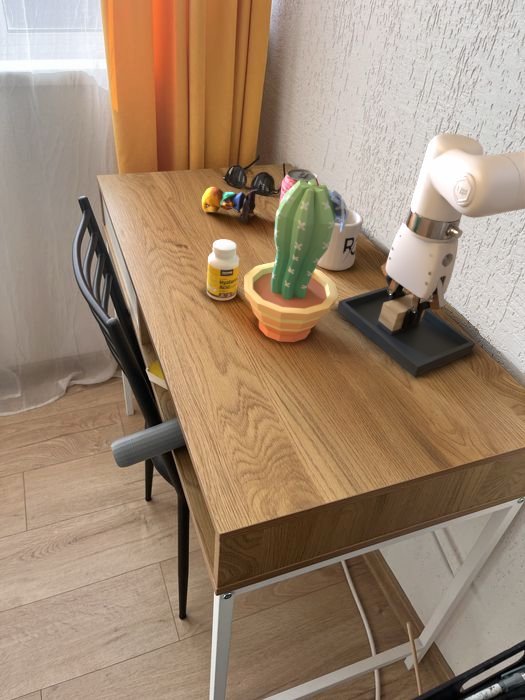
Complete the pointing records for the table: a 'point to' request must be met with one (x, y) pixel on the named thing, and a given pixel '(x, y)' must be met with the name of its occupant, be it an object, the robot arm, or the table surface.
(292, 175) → the beverage can
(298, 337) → the potted cactus
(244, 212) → the figurine
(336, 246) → the mug
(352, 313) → the tray
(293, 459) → the table surface
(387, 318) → the wooden block
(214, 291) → the supplement bottle
